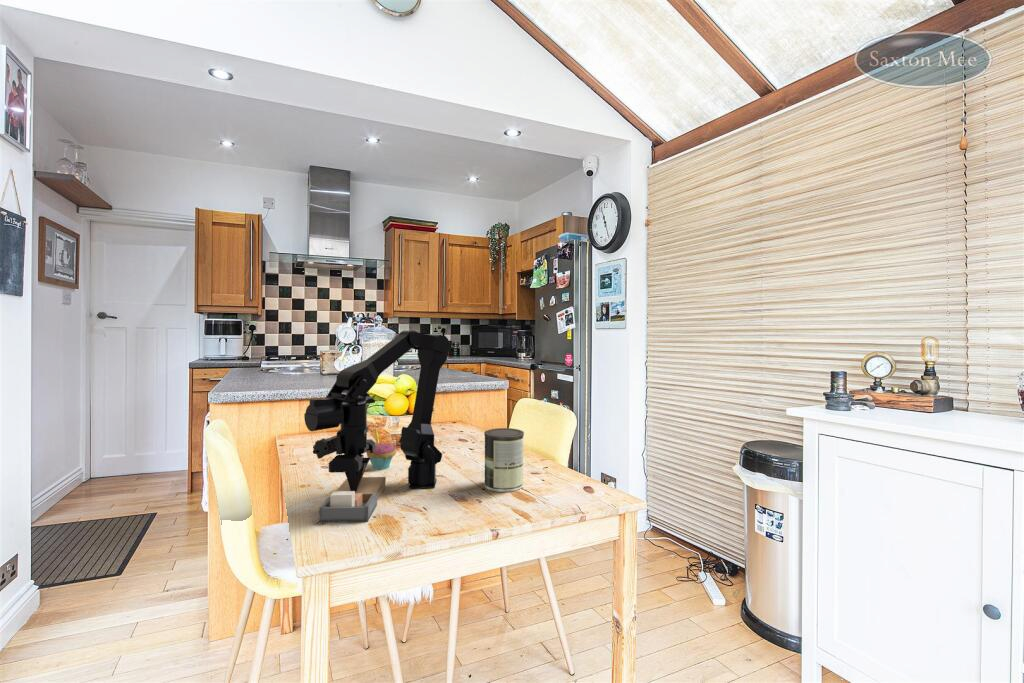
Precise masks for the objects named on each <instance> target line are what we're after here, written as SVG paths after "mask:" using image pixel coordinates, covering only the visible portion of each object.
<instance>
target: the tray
mask: <svg viewBox="0 0 1024 683" xmlns="http://www.w3.org/2000/svg"><path fill="white" fill-rule="evenodd" d="M377 506H378V501H377V492H373V494H372V495H371V497H370V499H369V500H368V502H367V503H362V505H361V506H352V507H330V496H329V497H328V498H327V499H326V500H325V501H324V502H323V503H322V504H321V505H320V507H319V508H318V523H320V524H321V523H322V524H324V523H325V524H326V523H329V524H330V523H359V522H360V523H364V522H369V520H370V518H371V517H372V515H373V513H374V512H375V510H376V508H377Z"/></svg>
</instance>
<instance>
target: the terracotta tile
mask: <svg viewBox="0 0 1024 683" xmlns="http://www.w3.org/2000/svg"><path fill="white" fill-rule="evenodd" d="M361 505H362V493H355V506H361Z"/></svg>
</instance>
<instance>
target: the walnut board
mask: <svg viewBox="0 0 1024 683" xmlns="http://www.w3.org/2000/svg"><path fill="white" fill-rule="evenodd" d="M386 479H387V478H386V476H363V477H362V479H361V482H360V484H359V487H358V489H357V491H356V492H355V493H362V503H367V502H368V500H369V499H370V497H371V495H372V494H373V492H377V502H378V500H379V499H380V497H381V495H382V494H383V492H384V490H385V488H386V481H387V480H386ZM336 491H351V490H350V487H349V483H348V480H347V478H345V480H344V482H343V483H342V484H341V485H339V487H338V488H337V490H336Z"/></svg>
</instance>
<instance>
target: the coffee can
mask: <svg viewBox="0 0 1024 683" xmlns="http://www.w3.org/2000/svg"><path fill="white" fill-rule="evenodd" d="M483 435H484V488H485V489H487V491H488V490H489V491H491V492H496V493H511V492H515V491H516V492H517V491H519V490H520V489H522V488H524V436H525V432H524V431H523V430H521V429H517V428H510V427H509V428H508V427H506V428H505V427H502V428H500V427H499V428H491V429H490V428H489V429H488V430H485V431H484V433H483Z"/></svg>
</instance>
